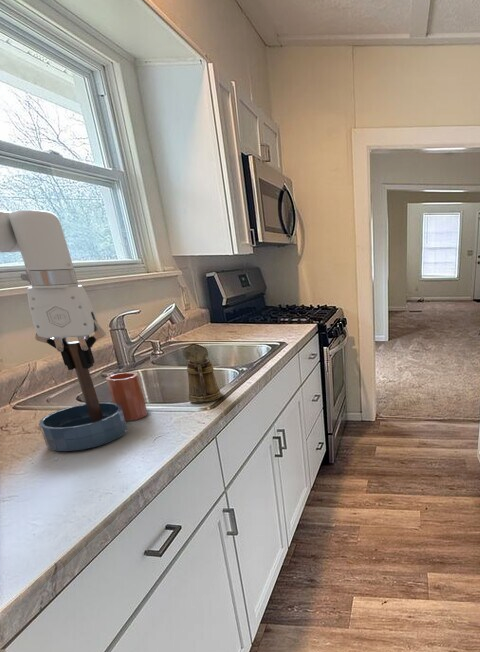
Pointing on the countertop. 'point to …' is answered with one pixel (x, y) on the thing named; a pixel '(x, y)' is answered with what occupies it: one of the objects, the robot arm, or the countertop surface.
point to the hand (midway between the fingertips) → (81, 367)
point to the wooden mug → (200, 375)
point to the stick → (85, 382)
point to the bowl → (82, 427)
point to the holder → (127, 394)
